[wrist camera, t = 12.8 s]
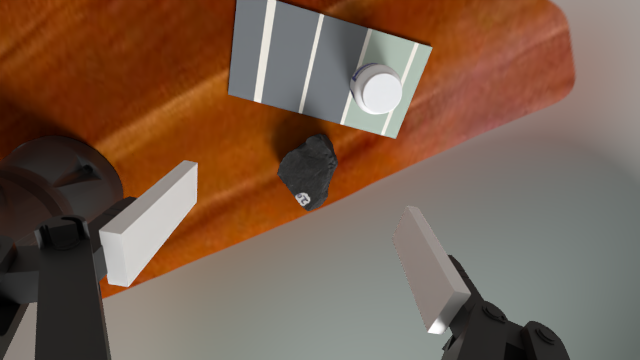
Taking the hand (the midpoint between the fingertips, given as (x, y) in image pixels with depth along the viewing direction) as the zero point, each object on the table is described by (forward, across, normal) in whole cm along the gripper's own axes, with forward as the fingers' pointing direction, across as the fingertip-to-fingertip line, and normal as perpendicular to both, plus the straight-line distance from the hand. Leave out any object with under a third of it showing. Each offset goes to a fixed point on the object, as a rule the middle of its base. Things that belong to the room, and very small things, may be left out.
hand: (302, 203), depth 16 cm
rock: (+23, +1, -7) cm, 24 cm away
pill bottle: (+22, +6, +6) cm, 24 cm away
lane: (+23, 0, +6) cm, 24 cm away
